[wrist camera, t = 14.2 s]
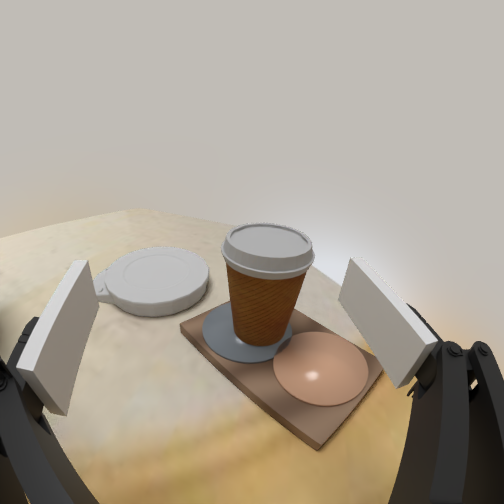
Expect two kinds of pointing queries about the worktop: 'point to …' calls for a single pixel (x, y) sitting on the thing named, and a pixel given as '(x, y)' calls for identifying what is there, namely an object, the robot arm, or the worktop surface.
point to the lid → (153, 281)
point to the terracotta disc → (320, 369)
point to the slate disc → (236, 339)
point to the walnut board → (270, 391)
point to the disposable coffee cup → (265, 278)
